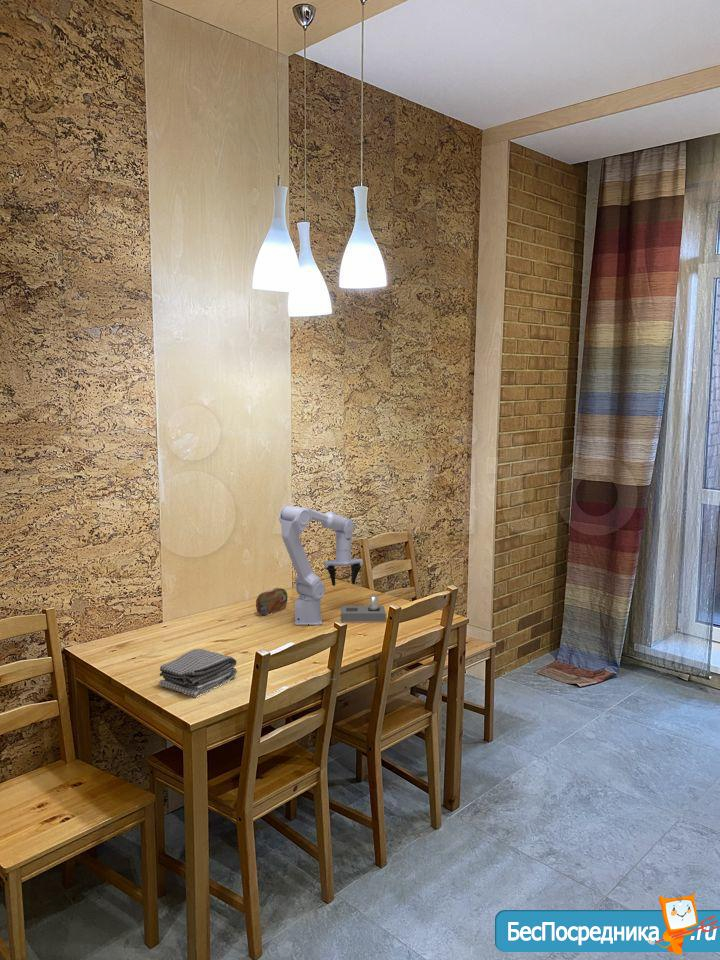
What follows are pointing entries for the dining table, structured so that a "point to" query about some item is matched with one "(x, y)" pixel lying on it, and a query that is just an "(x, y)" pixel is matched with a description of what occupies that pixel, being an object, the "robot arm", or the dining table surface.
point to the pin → (373, 603)
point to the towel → (197, 672)
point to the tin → (271, 601)
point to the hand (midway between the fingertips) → (343, 584)
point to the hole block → (362, 614)
